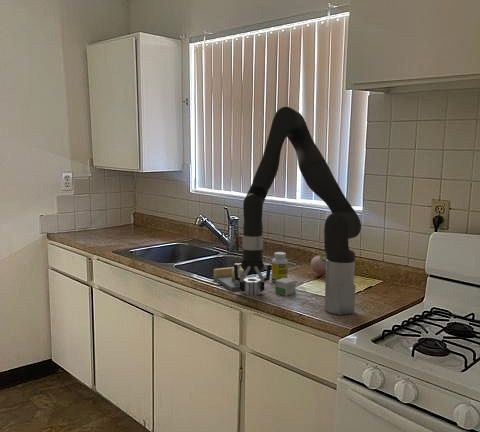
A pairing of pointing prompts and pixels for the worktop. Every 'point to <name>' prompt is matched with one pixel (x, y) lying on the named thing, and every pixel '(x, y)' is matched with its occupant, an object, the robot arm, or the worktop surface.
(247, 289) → the planet gear
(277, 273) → the pill bottle
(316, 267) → the decorative fruit
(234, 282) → the carrier
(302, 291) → the worktop surface
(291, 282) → the small box
